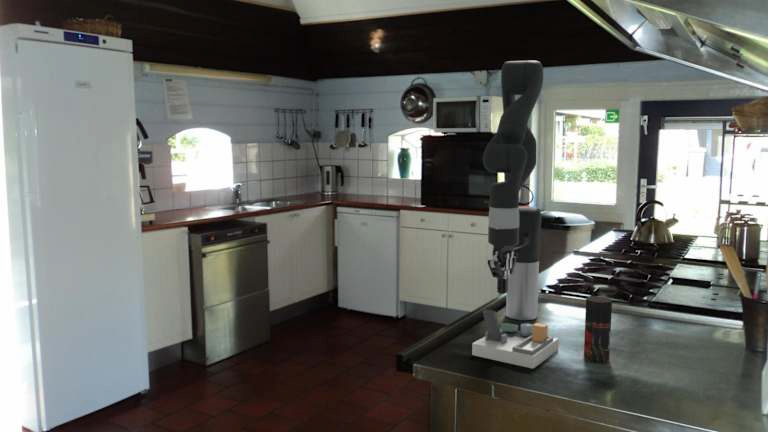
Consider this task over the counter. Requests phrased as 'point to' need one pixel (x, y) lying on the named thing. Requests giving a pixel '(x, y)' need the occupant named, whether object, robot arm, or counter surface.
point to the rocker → (509, 327)
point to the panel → (515, 349)
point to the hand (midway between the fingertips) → (502, 292)
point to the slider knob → (539, 332)
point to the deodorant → (597, 329)
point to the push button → (526, 329)
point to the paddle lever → (492, 325)
